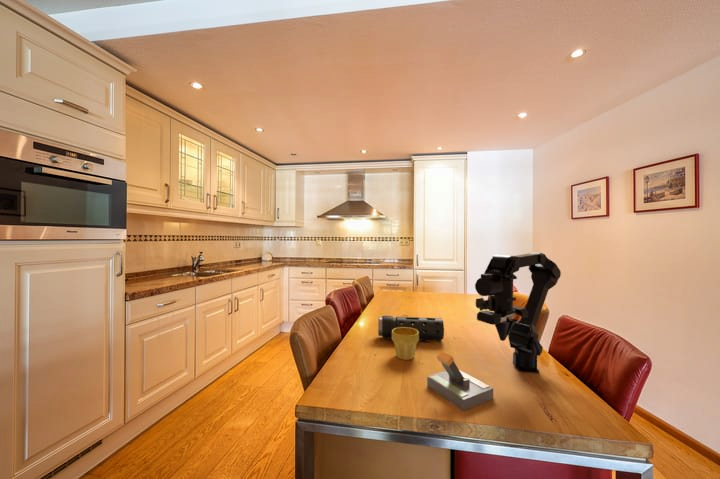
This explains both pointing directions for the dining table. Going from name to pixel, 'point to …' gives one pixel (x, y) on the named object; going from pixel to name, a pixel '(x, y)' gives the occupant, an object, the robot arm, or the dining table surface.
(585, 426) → the dining table surface
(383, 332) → the muzzle brake
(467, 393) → the switch base
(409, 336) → the plant pot
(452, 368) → the handle
